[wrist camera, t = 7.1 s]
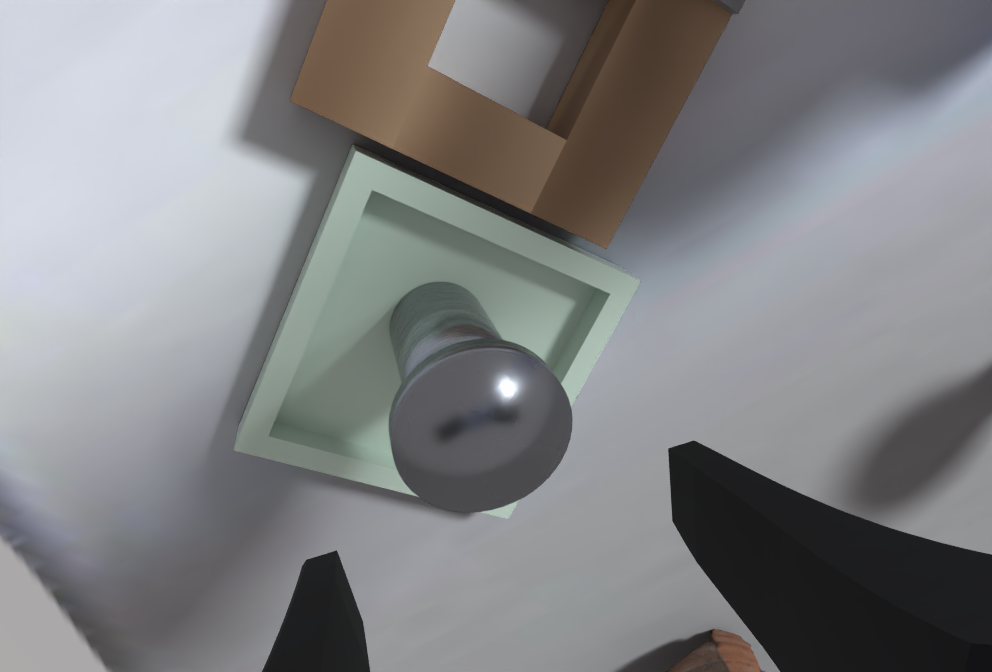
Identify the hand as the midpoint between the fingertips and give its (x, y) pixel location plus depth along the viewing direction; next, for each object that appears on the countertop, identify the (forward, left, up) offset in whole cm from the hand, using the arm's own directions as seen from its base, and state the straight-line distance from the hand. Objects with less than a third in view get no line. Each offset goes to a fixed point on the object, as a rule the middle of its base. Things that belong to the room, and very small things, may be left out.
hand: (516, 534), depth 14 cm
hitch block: (+2, -10, -10) cm, 14 cm away
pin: (0, -1, -9) cm, 9 cm away
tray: (0, 0, -10) cm, 10 cm away
